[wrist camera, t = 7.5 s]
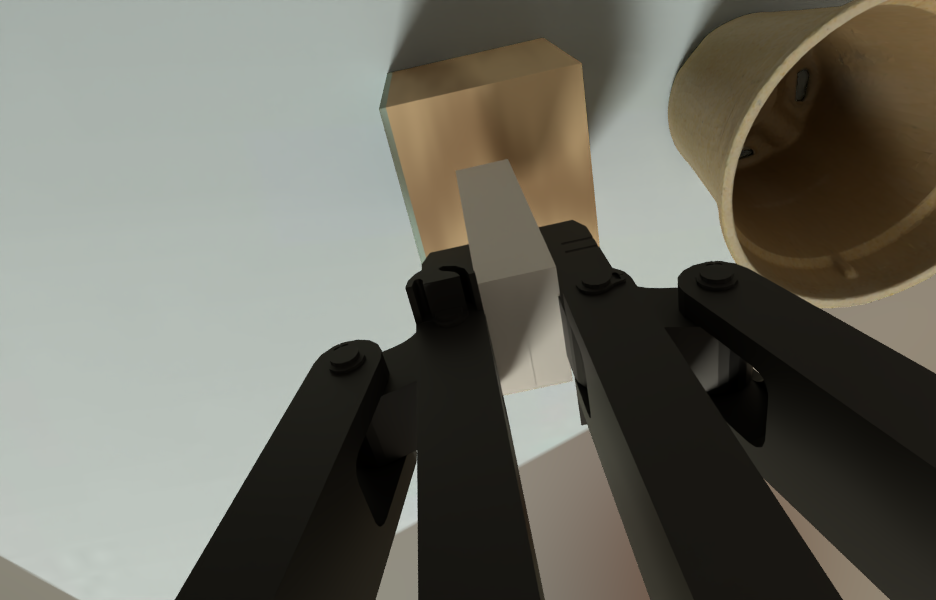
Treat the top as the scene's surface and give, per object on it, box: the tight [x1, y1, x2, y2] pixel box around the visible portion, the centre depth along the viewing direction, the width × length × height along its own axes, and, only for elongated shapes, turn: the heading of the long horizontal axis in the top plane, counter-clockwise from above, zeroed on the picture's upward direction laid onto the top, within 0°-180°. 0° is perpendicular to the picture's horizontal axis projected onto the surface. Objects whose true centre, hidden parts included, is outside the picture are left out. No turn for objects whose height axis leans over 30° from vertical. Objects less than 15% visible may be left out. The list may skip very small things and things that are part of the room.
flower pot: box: [668, 0, 936, 308], centre depth 20 cm, size 9×9×9 cm
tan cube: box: [379, 38, 599, 264], centre depth 21 cm, size 6×6×6 cm
